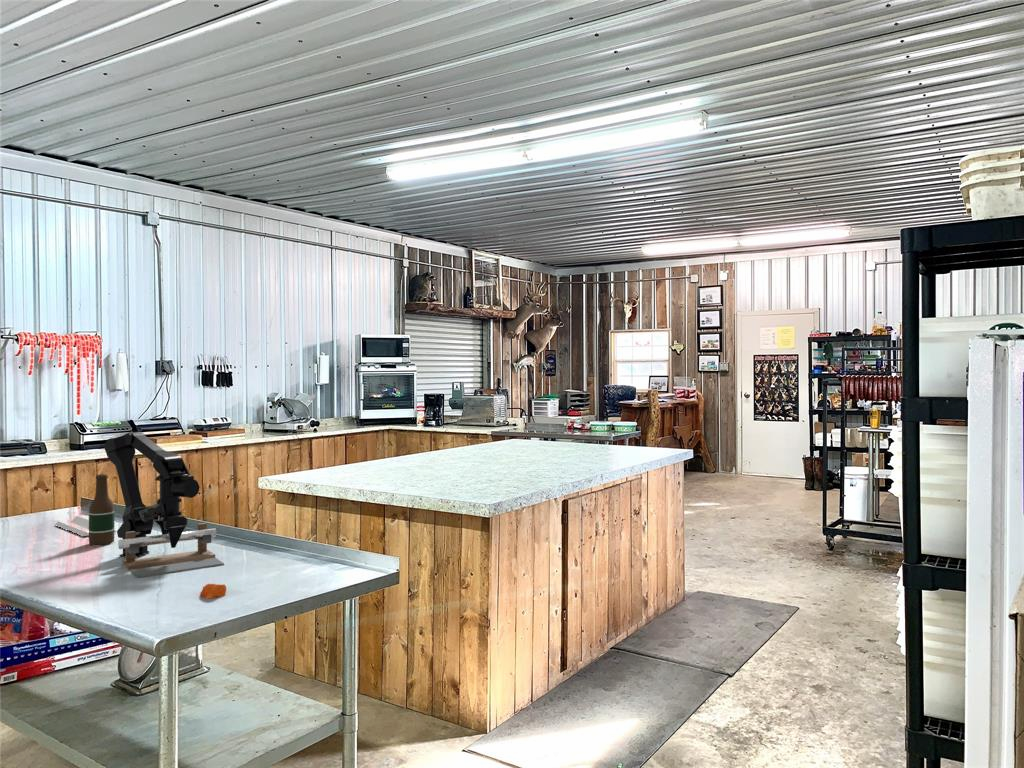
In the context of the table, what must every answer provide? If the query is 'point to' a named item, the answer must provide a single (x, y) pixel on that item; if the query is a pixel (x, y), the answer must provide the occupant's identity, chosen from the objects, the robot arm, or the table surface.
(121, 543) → the steel rail
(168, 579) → the table surface
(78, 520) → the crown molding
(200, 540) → the hook stand
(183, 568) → the rubber mat
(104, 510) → the beer bottle
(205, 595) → the rock
